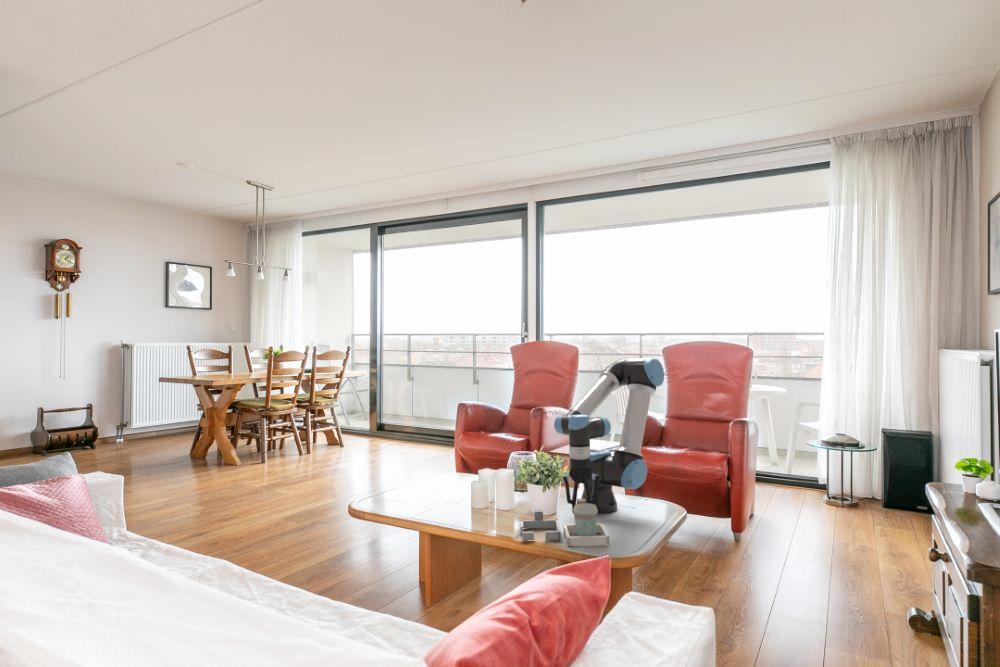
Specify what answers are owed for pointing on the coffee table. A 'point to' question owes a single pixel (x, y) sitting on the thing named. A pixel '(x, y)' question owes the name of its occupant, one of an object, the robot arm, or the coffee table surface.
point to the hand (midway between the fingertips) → (582, 522)
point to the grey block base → (540, 524)
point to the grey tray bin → (585, 539)
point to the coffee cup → (585, 519)
